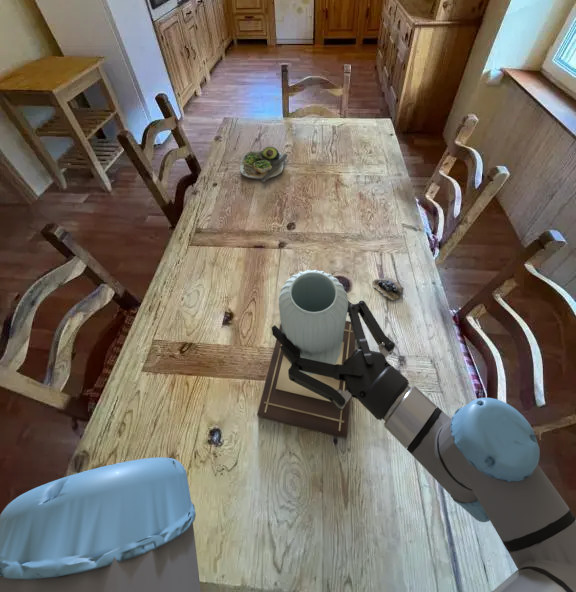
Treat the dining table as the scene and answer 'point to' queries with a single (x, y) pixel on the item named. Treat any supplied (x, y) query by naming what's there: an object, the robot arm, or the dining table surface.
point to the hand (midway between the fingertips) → (298, 308)
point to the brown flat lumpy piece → (388, 288)
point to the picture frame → (305, 395)
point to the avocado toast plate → (262, 164)
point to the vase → (314, 315)
